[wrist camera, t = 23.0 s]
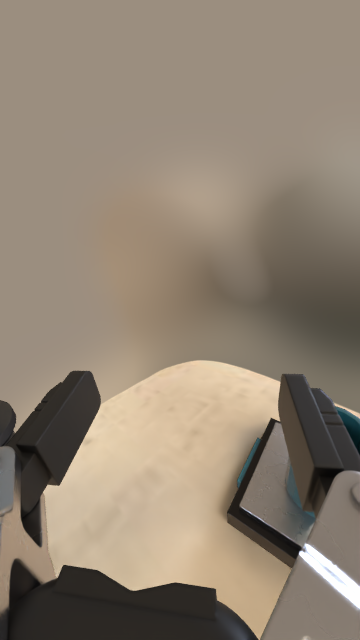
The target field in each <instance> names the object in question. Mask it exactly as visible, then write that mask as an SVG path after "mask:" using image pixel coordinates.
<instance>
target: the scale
mask: <svg viewBox="0 0 360 640" xmlns="http://www.w3.org/2000/svg"><path fill="white" fill-rule="evenodd" d="M288 456H289V454H288V450H287V446H286V442H285V438H284V434H283V430H282V426H281V422H280V421H277V420H275V419H272V418H271V419H270V421H269V423H268V426H267V428H266V430H265V432H264V434H263V436H262V439H259V438H257V440H256V442H255V444H254V446H253V448H252V450H251V453H250V455H249V457H248V459H247V461H246V463H245V465H244V467H243V469H242V471H241V473H240V475H239V478H238V480H237V487H238V490H237V492H236V495H235V497H234V499H233V501H232V503H231V505H230V508H229V510H228V512H227V517H228V523H229V524H230V525H232V526H233V527H235V528H236V529H237V530H239V531H240V532H242V533H243V534H244V535H246V536H247V537H249V538H250V539H251V540H253V541H254V542H256V543H257V544H258V545H260V546H261V547H263V548H264V549H265V550H267V551H268V552H270V553H271V554H272V555H274V556H275V557H277V558H278V559H280V560H281V561H282V562H284V563H285V564H287V565H288V566H289V567H291V568H293V565H294V563H295V561H296V559H297V557H298V555H299V553H300V551H301V549H302V547H303V546H304V544H305V542H306V540H307V538H308V536H309V534H310V531H311V529H312V527H313V525H314V522H315V520H316V519H315V518H314V517H312V516H310V515H308V514H307V513H305V512H304V511H303V510H302V509H301V508H300V507H299V506H298V505H297V504H296V503H295V502H294V500H293V499H292V498H291V496H290V494H289V492H288V489H287V486H286V468H287V462H288Z"/></svg>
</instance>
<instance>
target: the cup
mask: <svg viewBox="0 0 360 640" xmlns="http://www.w3.org/2000/svg"><path fill="white" fill-rule="evenodd" d="M335 407H336V406H335ZM336 409H337V411H338V415H340V417H341V419H342V421H343V425H344V426H345V427H346V429H347V431H348V433H349V435H350V437H351V439H352V441H353V443H354V445H355V447H356V449H357V451H358V453H359V455H360V419H359V418H358V417H356V416H355V415H353V414H352V413H350V412H348V411H347V410H345V409H342V408H339V407H336ZM286 486H287V489H288V492H289V494H290V496H291V498H292V499H293V500H294V502H295V503H296V504H297V505H298V506H299V507H300V508H301V509H302V506H301V502H300V498H299V494H298V490H297V486H296V482H295V478H294V474H293V470H292V466H291V462H290V458H289V456H288V462H287V468H286ZM304 512H305V513H307V514H308V515H310V516H312V517H314V518H315V515H314V512H308V511H304Z"/></svg>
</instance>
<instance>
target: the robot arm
mask: <svg viewBox="0 0 360 640" xmlns="http://www.w3.org/2000/svg"><path fill="white" fill-rule="evenodd" d="M100 403H101V399H100V394H99V391H98V388H97V386H96V383H95V380H94V377H93V374H92V373H91V372H90V371H72V372H70V373H69V375H68V376H67V377H66V379H65V380H64V381H63V382H62V383H61V382H60V383H59V384H58V385H56V386H55V387H54V388H53V389H51V390H50V391H49V392H48V393H47V394H46V396H45V397H44V398H43V399H42V401H41V403H39V404H38V406H37V407H36V408H35V411H33V412H32V413H31V414H30V416H29V417H28V418H27V420H26V421H25V422H24V423H23V424H22V426H21V427H20V428H19V430H18V431H17V432H16V433H15V435H14V436H13V437H12V438H11V440H10V441H9V442H8V443H7V444H6V446H1V447H0V640H258V638H257V637H256V635H255V634H254V633H253V632H252V630H251V629H250V628H249V627H248V625H247V624H246V623H245V622H244V621H243V620H242V619H241V618H240V617H239V616H238V615H237V614H236V613H235V612H234V611H232V610H231V609H230V608H229V607H227V606H226V605H224V604H223V603H221V602H219V601H217V596H216V589H213V588H207V587H201V586H194V585H188V584H182V583H170V584H166V585H161V586H156V587H152V588H147V589H142V590H138V591H131V590H129V589H127V588H125V587H124V586H122V585H121V584H119V583H117V582H116V581H114V580H113V579H111V578H109V577H108V576H106V575H105V574H103V573H101V572H100V571H98V570H93V569H86V568H80V567H74V566H67V565H63V567H62V569H61V572H60V574H59V577H58V578H56V576H55V571H54V567H53V563H52V561H51V558H50V555H49V550H48V537H47V522H46V507H45V496H44V493H43V491H44V490H45V488H46V486H47V485H58V486H59V485H60V484H61V482H62V480H63V478H64V476H65V474H66V472H67V470H68V468H69V466H70V464H71V462H72V460H73V459H74V457H75V455H76V453H77V451H78V449H79V447H80V445H81V443H82V441H83V439H84V437H85V435H86V433H87V432H88V430H89V428H90V426H91V424H92V422H93V420H94V418H95V416H96V414H97V412H98V410H99V408H100ZM278 410H279V417H280V422H281V426H282V430H283V434H284V438H285V442H286V446H287V450H288V454H289V458H290V462H291V466H292V470H293V474H294V478H295V482H296V486H297V490H298V494H299V498H300V502H301V506H302V510H303V511H308V512H314V515H315V519H316V520H315V522H314V525H313V527H312V529H311V531H310V534H309V536H308V538H307V540H306V542H305V544H304V546H303V547H302V549H301V551H300V553H299V555H298V557H297V559H296V561H295V563H294V565H293V568H292V570H291V572H290V574H289V577H288V579H287V581H286V583H285V585H284V588H283V590H282V592H281V594H280V596H279V599H278V601H277V603H276V605H275V608H274V610H273V612H272V614H271V616H270V619H269V621H268V623H267V625H266V627H265V630H264V632H263V634H262V636H261V639H260V640H360V455H359V453H358V451H357V449H356V447H355V445H354V443H353V441H352V439H351V437H350V435H349V433H348V431H347V429H346V427H345V426H344V425H343V421H342V419H341V417H340V415H338V411H337V409H336V407H335V405H334V403H333V401H332V400H331V398H329V397H328V396H327V395H326V394H325V393H324V392H323V391H322V390H321V389H317V388H310V387H309V385H308V382H307V380H306V377H305V376H304V375H303V374H282V377H281V384H280V392H279V400H278Z"/></svg>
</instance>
